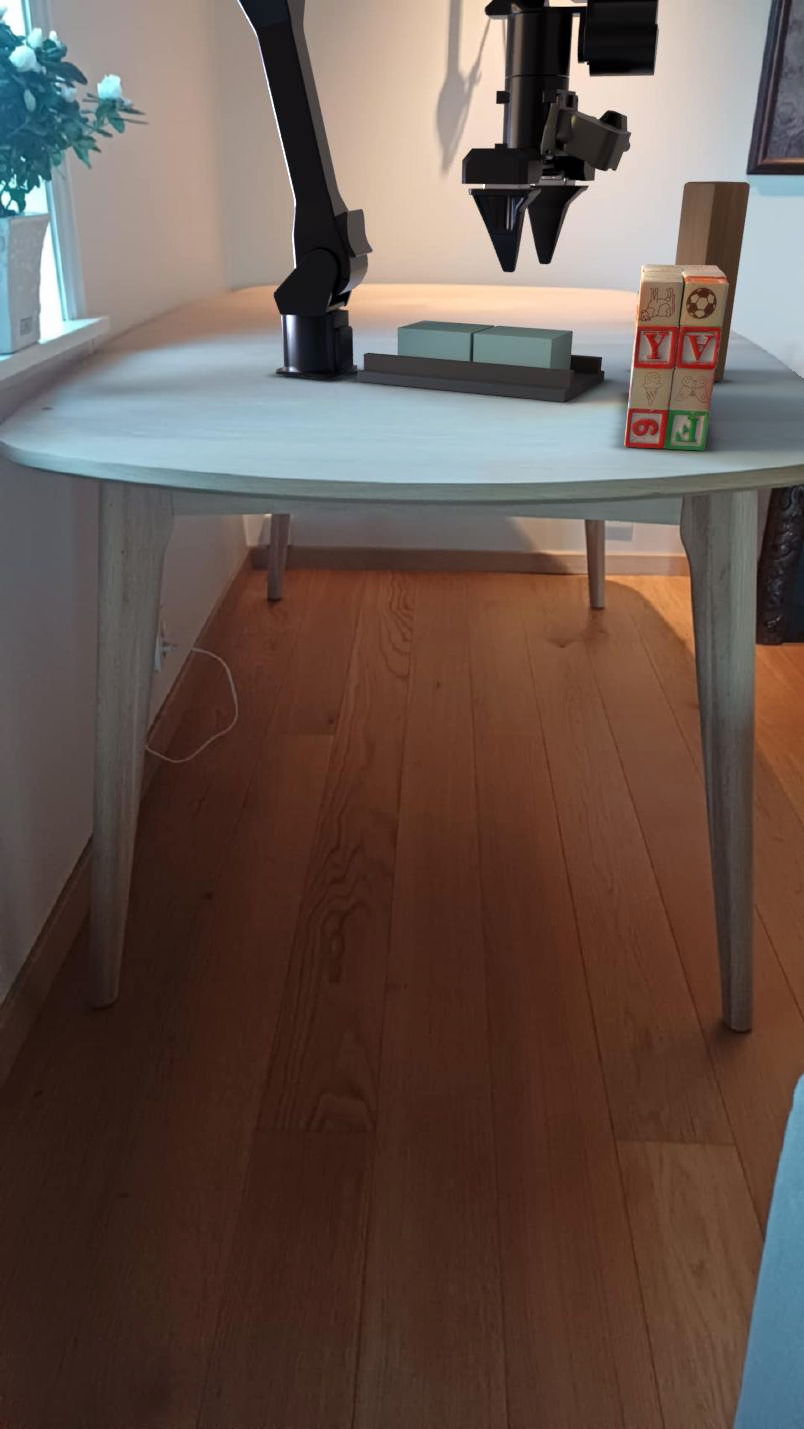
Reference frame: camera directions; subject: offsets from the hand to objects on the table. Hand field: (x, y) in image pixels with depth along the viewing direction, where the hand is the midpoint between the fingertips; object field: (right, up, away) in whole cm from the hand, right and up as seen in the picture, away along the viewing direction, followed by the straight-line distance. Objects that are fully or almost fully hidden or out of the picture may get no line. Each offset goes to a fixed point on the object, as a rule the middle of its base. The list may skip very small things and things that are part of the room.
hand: (527, 268), depth 101 cm
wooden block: (+17, -8, +8) cm, 20 cm away
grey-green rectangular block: (0, -9, +3) cm, 10 cm away
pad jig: (-4, -9, +6) cm, 11 cm away
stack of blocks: (+10, -18, -10) cm, 23 cm away
